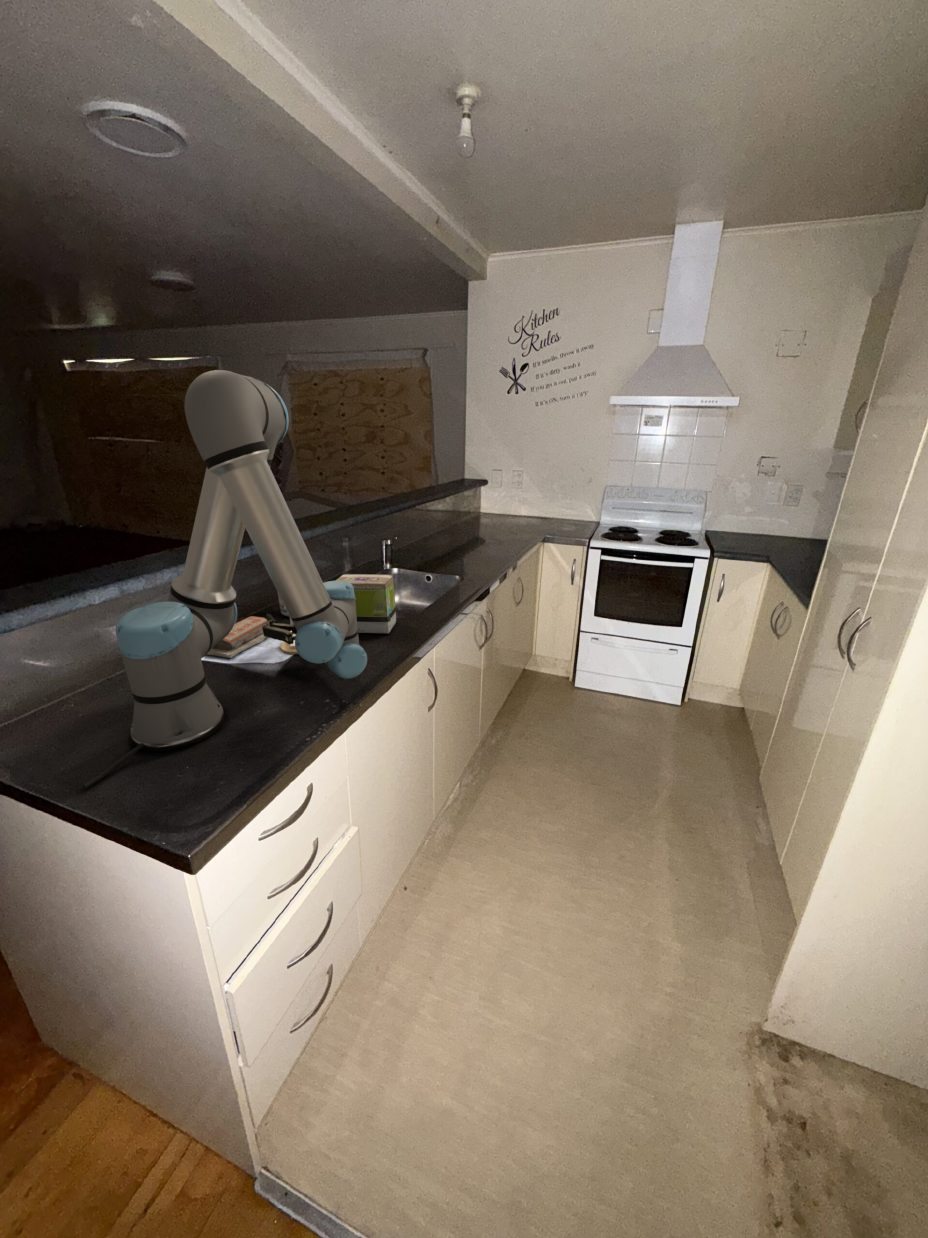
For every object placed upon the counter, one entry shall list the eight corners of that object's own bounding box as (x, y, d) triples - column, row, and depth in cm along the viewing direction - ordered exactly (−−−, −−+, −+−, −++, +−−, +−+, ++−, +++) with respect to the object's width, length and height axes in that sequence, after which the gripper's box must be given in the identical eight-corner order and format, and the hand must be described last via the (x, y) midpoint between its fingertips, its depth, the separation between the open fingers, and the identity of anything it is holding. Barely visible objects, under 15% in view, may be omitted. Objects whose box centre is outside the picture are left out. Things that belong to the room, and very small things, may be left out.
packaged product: (245, 613, 137) (275, 616, 134) (248, 629, 139) (277, 633, 136) (194, 637, 121) (227, 641, 118) (198, 654, 123) (230, 659, 120)
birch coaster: (309, 656, 121) (309, 654, 121) (271, 651, 124) (271, 649, 124) (332, 639, 131) (331, 637, 131) (296, 635, 134) (296, 633, 134)
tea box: (397, 621, 143) (394, 573, 138) (388, 635, 134) (385, 583, 129) (347, 620, 145) (343, 572, 140) (336, 633, 136) (330, 582, 130)
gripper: (270, 669, 104) (247, 637, 121) (376, 642, 118) (342, 617, 134) (265, 637, 102) (242, 609, 118) (374, 613, 115) (339, 591, 131)
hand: (295, 613), depth 126 cm, fingers open, 13 cm apart
